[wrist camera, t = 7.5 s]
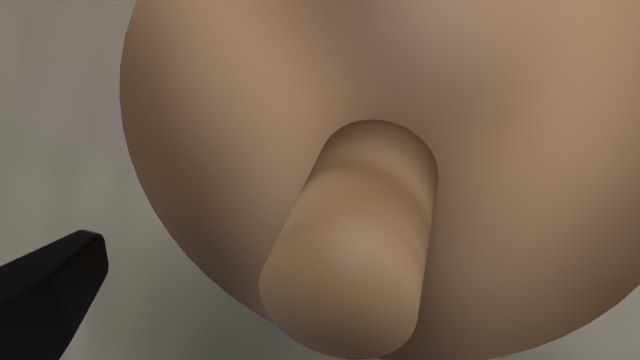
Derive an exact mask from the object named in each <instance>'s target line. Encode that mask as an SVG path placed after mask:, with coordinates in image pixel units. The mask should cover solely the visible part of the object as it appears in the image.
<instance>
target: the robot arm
mask: <svg viewBox="0 0 640 360" xmlns="http://www.w3.org/2000/svg"><path fill="white" fill-rule="evenodd" d="M108 267H109V265H108V258H107V252H106V246H105V240H104V238H103V236H102V235H101V234H99V233H95V232H92V231H88V230H79V231H76V232H74V233H72V234H69V235H67V236H65V237H63V238H61V239H59V240H56V241H54V242H52V243H50V244H48V245H46V246H43V247H41V248H39V249H37V250H35V251H33V252H30V253H28V254H26V255H24V256H22V257H20V258H17V259H15V260H13V261H11V262H9V263H7V264H4V265H2V266H0V360H59V359H60V357H61V356H62V354H63V353H64V351H65V350H66V348H67V347H68V345H69V344H70V342H71V340H72V338H73V337H74V335H75V333H76V331H77V330H78V328H79V326H80V324H81V322H82V320H83V318H84V317H85V315H86V313H87V311H88V309H89V307H90V306H91V304H92V302H93V300H94V298H95V296H96V294H97V293H98V291H99V289H100V287H101V285H102V283H103V282H104V280H105V278H106V275H107V273H108Z"/></svg>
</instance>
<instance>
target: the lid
mask: <svg viewBox="0 0 640 360" xmlns="http://www.w3.org/2000/svg"><path fill="white" fill-rule="evenodd" d="M120 106H121V115H122V123H123V130H124V134H125V138H126V142H127V146H128V150H129V154H130V158H131V161H132V163H133V166H134V168H135V171H136V174H137V176H138V179H139V182H140V184H141V186H142V188H143V190H144V192H145V194H146V196H147V198H148V200H149V202H150V204H151V206H152V208H153V210H154V211H155V213H156V214H157V216H158V217H159V219H160V220H161V222H162V223H163V225H164V226H165V228H166V229H167V231H168V232H169V234H170V235H171V236H172V238H173V239H174V240H175V241H176V243H177V244H178V245H179V246H180V247H181V249H182V250H183V251H184V252H185V254H186V255H187V256H188V257H189V258H190V259H191V260H192V261H193V262H194V263H195V264H196V265H197V266H198V267H199V268H200V269H201V270H202V271H203V272H204V273H205V274H206V275H207V276H208V277H209V278H210V279H211V280H213V281H214V282H215V283H216V284H217V285H219V286H220V287H221V288H222V289H223V290H224V291H226V292H227V293H228V294H229V295H231V296H232V297H234V298H235V299H236V300H238V301H239V302H241V303H242V304H244V305H245V306H246V307H248V308H249V309H251V310H252V311H254V312H256V313H257V314H259V315H261V316H263V317H264V318H266V319H268V320H269V321H271V322H273V323H275V324H276V325H277V326H278V327H279V328H280V329H281V330H282V331H283V332H284V333H286V334H287V335H288V336H289V337H291V338H292V339H294V340H295V341H297V342H298V343H300V344H302V345H304V346H306V347H308V348H310V349H312V350H314V351H317V352H320V353H322V354H326V355H329V356H334V357H339V358H346V359H369V358H378V359H383V360H483V359H489V358H495V357H502V356H506V355H509V354H513V353H517V352H521V351H524V350H528V349H532V348H535V347H537V346H540V345H543V344H545V343H548V342H550V341H553V340H556V339H558V338H561V337H563V336H565V335H567V334H569V333H571V332H573V331H575V330H577V329H579V328H581V327H583V326H584V325H586V324H588V323H590V322H592V321H593V320H595V319H596V318H598V317H599V316H601V315H602V314H604V313H605V312H607V311H608V310H610V309H611V308H612V307H614V306H615V305H617V304H618V303H619V302H620V301H621V300H623V299H624V298H625V297H626V296H627V295H628V294H629V293H631V292H632V291H633V290H634V289H635V288H636V287H637V286H639V285H640V0H137V2H136V4H135V7H134V10H133V13H132V16H131V19H130V23H129V26H128V29H127V32H126V35H125V41H124V47H123V53H122V59H121V65H120Z"/></svg>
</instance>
